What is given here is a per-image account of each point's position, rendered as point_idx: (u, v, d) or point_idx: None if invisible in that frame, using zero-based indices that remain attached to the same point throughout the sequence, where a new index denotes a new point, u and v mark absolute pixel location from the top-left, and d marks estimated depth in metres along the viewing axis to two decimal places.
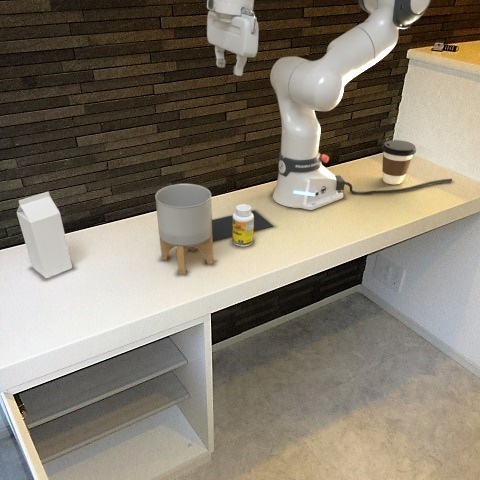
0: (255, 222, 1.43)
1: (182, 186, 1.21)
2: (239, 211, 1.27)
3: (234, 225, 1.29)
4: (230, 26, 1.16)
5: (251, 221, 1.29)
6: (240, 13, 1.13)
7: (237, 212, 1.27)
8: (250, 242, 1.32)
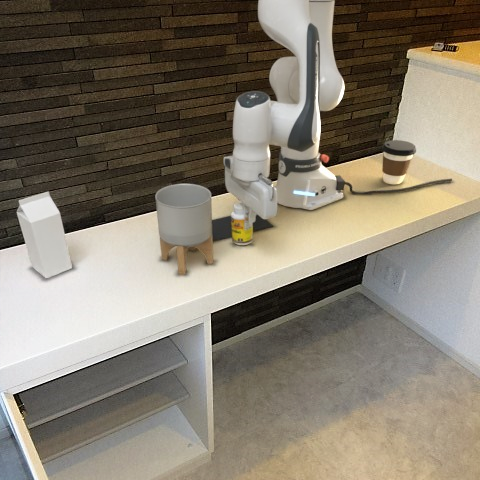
0: (255, 222, 1.43)
1: (182, 186, 1.21)
2: (237, 209, 1.27)
3: (233, 223, 1.30)
4: (248, 187, 1.19)
5: None
6: (258, 178, 1.16)
7: (235, 210, 1.28)
8: (250, 240, 1.32)
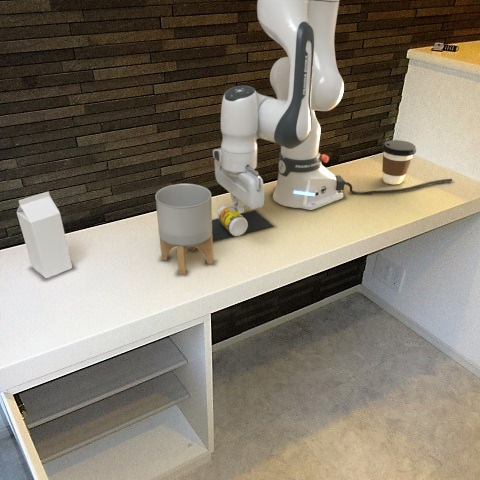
0: (255, 222, 1.43)
1: (182, 186, 1.21)
2: (219, 209, 1.40)
3: (221, 217, 1.37)
4: (237, 178, 1.23)
5: None
6: (245, 170, 1.20)
7: (219, 212, 1.40)
8: (242, 217, 1.34)
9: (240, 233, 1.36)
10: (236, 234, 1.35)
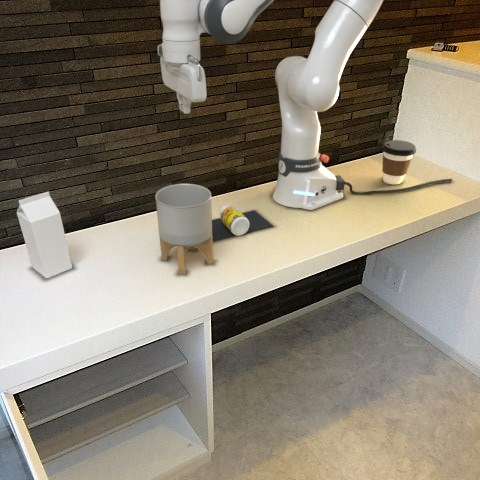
0: (255, 222, 1.43)
1: (182, 186, 1.21)
2: (222, 207, 1.40)
3: (224, 215, 1.37)
4: (180, 72, 1.21)
5: (236, 208, 1.39)
6: (187, 61, 1.17)
7: (221, 210, 1.40)
8: (245, 217, 1.35)
9: (241, 233, 1.36)
10: (236, 233, 1.35)
